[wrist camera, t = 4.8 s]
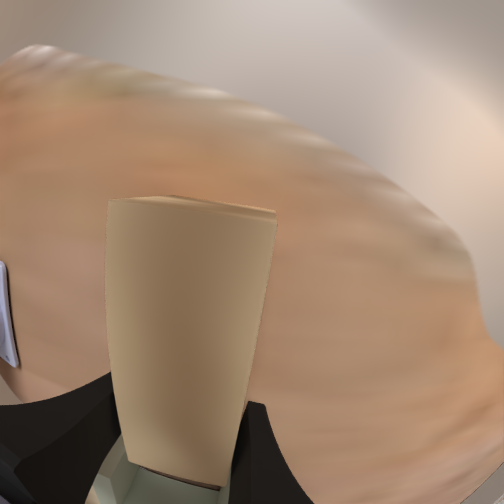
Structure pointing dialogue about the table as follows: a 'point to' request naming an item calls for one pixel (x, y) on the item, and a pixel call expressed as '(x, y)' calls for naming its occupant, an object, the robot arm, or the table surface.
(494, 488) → the gray rectangular frame
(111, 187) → the table surface
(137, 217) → the peg
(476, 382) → the table surface
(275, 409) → the table surface
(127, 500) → the block
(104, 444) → the robot arm
